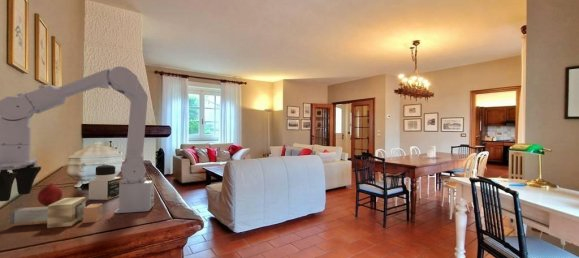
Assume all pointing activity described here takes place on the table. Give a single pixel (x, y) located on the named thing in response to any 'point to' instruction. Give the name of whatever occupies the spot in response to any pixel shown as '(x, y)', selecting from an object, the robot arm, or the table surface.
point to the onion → (49, 194)
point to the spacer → (93, 213)
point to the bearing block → (64, 212)
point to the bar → (38, 214)
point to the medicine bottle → (104, 184)
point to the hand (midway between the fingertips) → (14, 197)
